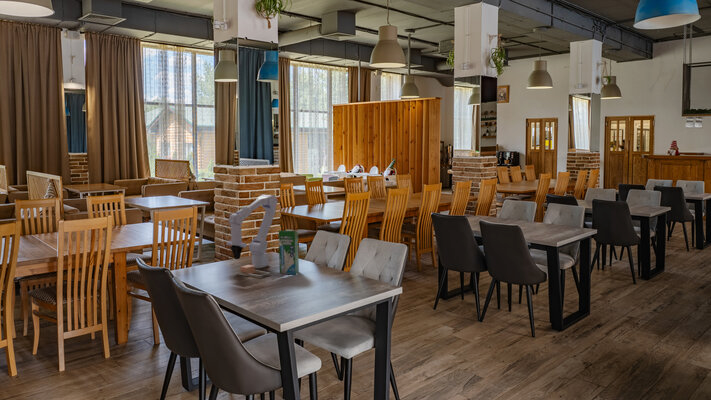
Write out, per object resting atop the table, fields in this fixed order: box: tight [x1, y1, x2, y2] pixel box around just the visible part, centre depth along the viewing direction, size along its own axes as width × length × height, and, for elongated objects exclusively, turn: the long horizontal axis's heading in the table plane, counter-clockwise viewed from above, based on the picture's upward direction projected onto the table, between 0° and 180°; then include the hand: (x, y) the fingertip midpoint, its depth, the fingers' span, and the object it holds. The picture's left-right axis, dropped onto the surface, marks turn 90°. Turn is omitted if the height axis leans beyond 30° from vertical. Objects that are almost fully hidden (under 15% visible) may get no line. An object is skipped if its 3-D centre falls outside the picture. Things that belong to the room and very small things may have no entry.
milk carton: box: [278, 228, 300, 276], centre depth 302 cm, size 9×9×25 cm
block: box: [239, 264, 256, 274], centre depth 299 cm, size 6×5×4 cm
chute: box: [236, 269, 272, 279], centre depth 296 cm, size 11×18×2 cm, turn 53°
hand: (237, 258), depth 303 cm, fingers closed
